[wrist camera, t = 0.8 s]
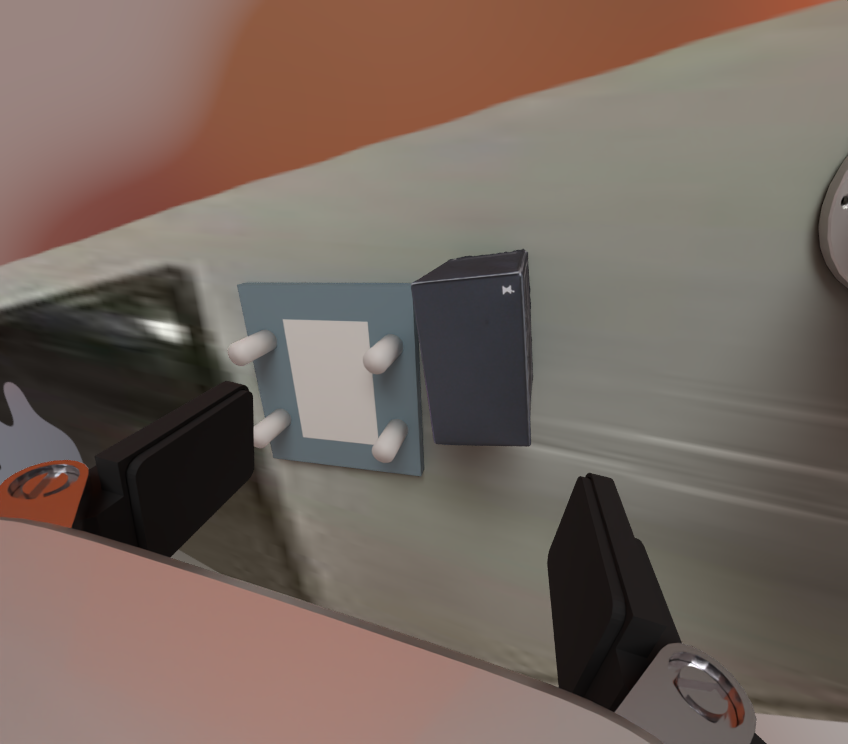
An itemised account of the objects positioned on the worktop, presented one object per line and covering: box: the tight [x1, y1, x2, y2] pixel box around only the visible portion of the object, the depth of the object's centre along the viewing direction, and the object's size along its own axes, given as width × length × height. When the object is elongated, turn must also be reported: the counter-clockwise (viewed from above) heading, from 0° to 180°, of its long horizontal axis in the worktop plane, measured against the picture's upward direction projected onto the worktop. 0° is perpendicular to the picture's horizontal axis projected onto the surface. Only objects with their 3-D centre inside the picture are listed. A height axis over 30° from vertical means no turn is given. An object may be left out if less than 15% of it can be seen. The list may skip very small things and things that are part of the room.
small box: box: [411, 249, 533, 446], centre depth 27 cm, size 11×6×10 cm, turn 8°
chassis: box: [228, 283, 424, 476], centre depth 35 cm, size 16×18×5 cm
